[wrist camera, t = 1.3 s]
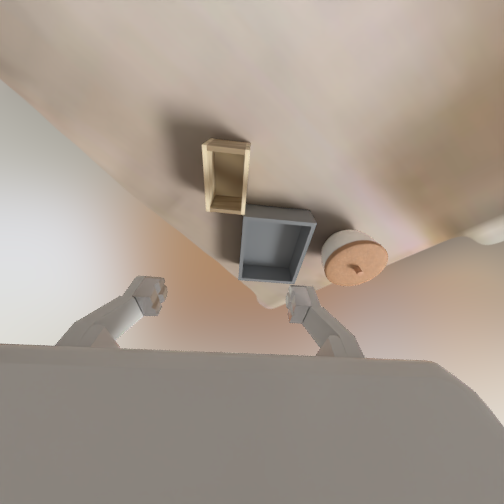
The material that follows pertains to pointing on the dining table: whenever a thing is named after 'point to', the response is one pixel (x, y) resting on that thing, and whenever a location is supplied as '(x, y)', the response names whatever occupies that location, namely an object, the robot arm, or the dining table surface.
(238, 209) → the pine crate
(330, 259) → the lidded jar
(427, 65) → the dining table surface
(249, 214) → the grey crate
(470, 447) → the robot arm
